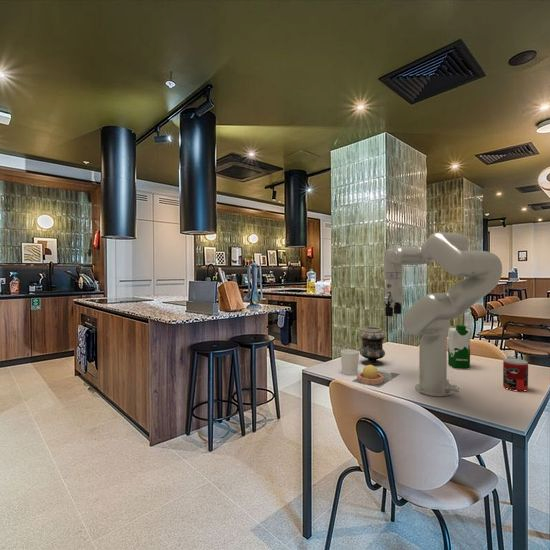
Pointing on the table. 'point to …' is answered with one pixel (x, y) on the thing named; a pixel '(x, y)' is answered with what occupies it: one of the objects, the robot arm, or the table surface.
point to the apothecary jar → (372, 345)
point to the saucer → (376, 381)
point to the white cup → (349, 361)
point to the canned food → (515, 374)
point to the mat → (383, 381)
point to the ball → (370, 372)
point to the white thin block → (385, 374)
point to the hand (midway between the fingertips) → (393, 314)
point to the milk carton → (459, 347)
